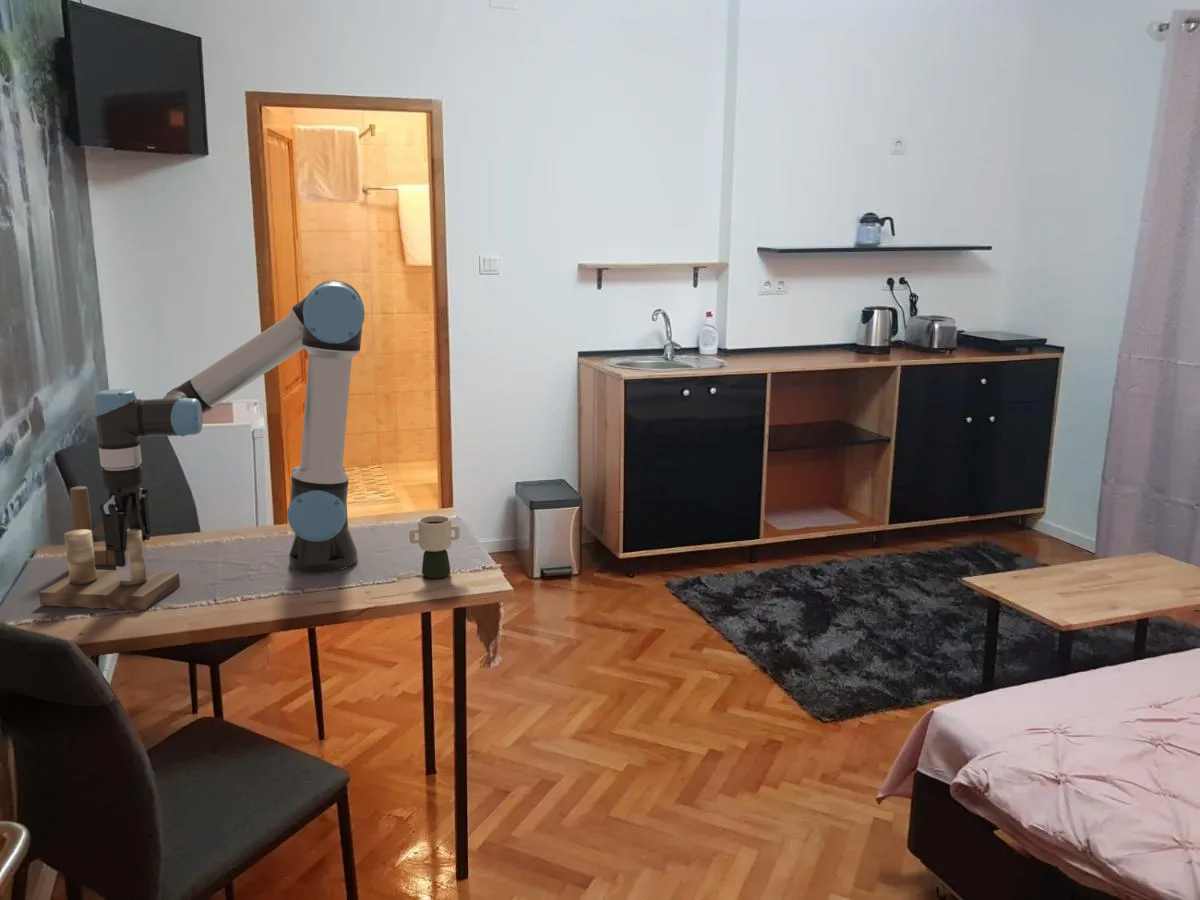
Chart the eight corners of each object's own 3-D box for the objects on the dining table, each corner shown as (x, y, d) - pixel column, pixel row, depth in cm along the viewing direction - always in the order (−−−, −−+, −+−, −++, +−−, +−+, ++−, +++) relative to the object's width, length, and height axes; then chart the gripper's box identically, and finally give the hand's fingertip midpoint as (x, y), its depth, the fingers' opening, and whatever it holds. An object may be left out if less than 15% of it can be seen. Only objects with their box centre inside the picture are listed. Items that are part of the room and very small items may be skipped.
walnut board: (180, 585, 207) (174, 525, 204) (144, 610, 193) (137, 546, 190) (82, 582, 208) (75, 522, 206) (40, 606, 195) (32, 542, 192)
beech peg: (129, 589, 203) (123, 528, 200) (152, 590, 202) (146, 529, 200) (115, 598, 198) (108, 535, 195) (139, 599, 197) (132, 536, 195)
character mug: (458, 568, 219) (456, 513, 216) (463, 578, 212) (461, 522, 209) (409, 572, 215) (407, 517, 212) (413, 583, 209) (411, 526, 206)
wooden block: (123, 565, 219) (115, 489, 215) (74, 566, 218) (65, 490, 214) (130, 560, 223) (122, 485, 219) (81, 561, 222) (73, 485, 218)
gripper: (128, 455, 203) (139, 560, 208) (76, 476, 186) (89, 590, 191) (162, 456, 203) (172, 561, 208) (113, 477, 185) (125, 591, 190)
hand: (132, 575), depth 199 cm, fingers closed on beech peg, 5 cm apart
